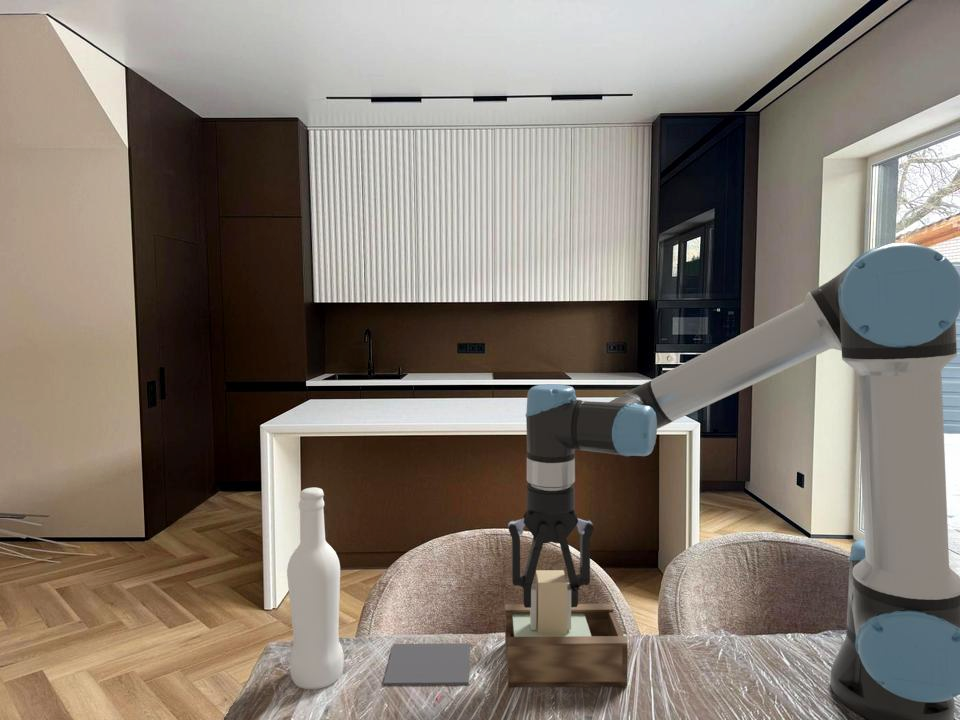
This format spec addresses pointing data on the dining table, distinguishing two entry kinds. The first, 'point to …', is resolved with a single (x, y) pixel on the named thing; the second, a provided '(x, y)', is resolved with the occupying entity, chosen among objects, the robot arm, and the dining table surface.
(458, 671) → the mat
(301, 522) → the bottle
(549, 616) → the lid
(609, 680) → the walnut box
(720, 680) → the dining table surface
